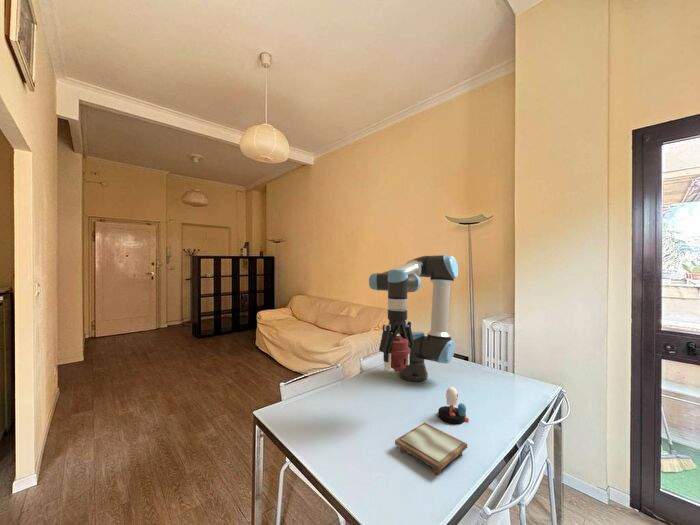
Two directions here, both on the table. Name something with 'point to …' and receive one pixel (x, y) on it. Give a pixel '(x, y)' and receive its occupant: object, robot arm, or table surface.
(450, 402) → the figurine
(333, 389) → the table surface
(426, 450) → the stand
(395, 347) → the mechanical component
